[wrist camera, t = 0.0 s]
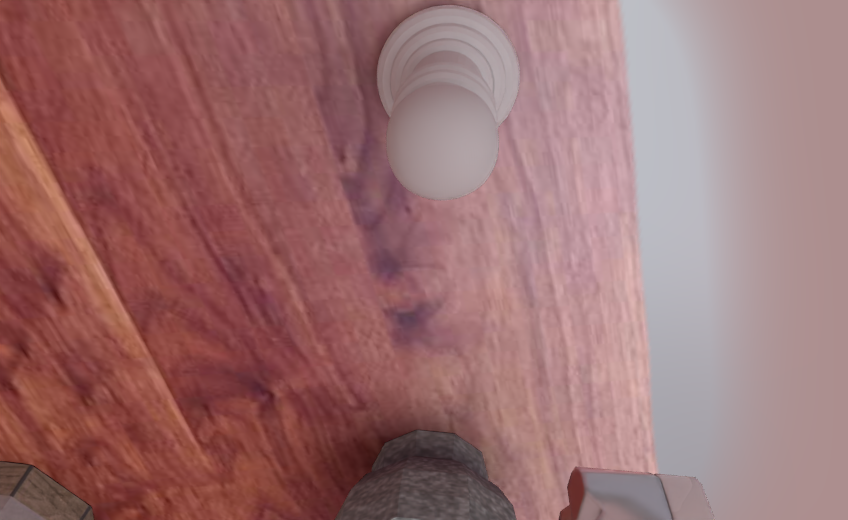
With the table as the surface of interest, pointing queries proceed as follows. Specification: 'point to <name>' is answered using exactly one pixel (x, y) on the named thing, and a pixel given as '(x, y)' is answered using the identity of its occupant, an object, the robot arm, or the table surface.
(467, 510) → the mortar and pestle
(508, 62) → the chess piece
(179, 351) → the table surface
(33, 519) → the mug
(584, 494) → the robot arm
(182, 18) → the table surface
